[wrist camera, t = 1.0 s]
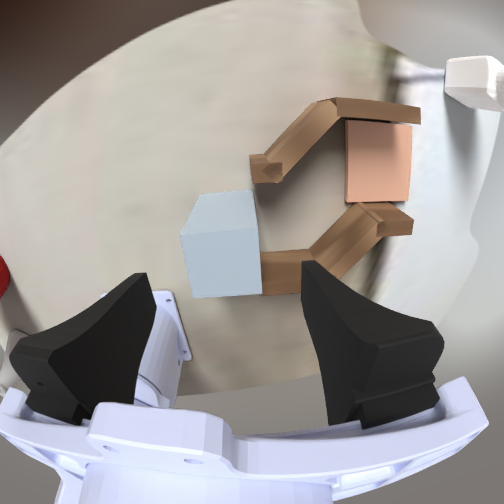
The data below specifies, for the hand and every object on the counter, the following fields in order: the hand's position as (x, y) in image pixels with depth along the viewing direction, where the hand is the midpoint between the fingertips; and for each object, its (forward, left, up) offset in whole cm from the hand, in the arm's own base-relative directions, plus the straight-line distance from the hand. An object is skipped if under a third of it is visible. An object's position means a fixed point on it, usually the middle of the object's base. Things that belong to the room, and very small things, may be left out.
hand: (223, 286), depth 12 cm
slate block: (0, 0, -10) cm, 10 cm away
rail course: (+2, -7, -10) cm, 13 cm away
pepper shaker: (+12, -22, -11) cm, 27 cm away
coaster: (+4, -12, -10) cm, 17 cm away
